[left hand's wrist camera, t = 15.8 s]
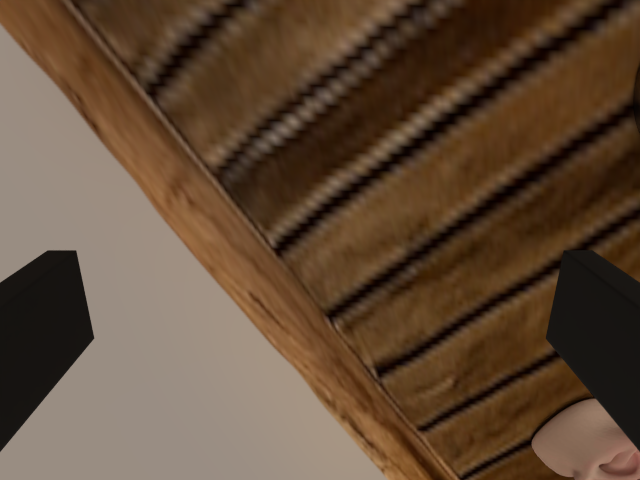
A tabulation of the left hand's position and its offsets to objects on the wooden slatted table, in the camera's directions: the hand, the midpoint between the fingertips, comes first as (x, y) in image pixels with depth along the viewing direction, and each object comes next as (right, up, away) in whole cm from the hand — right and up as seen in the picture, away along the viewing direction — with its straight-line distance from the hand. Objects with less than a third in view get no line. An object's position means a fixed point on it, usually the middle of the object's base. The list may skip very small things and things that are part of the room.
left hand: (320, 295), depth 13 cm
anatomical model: (+30, -20, +37) cm, 51 cm away
